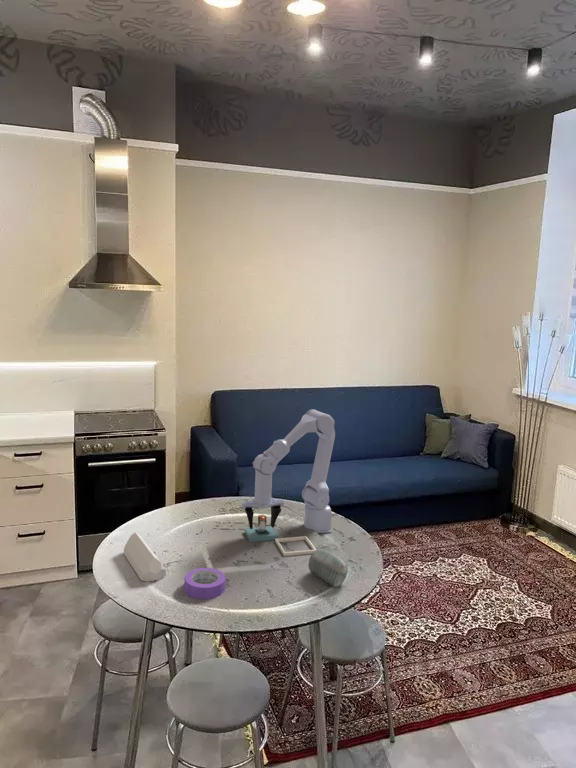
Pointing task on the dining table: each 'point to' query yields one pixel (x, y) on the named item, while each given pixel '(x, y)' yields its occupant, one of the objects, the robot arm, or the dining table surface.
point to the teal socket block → (269, 535)
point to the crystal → (143, 559)
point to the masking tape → (204, 590)
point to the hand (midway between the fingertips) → (261, 527)
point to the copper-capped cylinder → (261, 524)
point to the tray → (295, 551)
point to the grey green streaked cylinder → (328, 567)
